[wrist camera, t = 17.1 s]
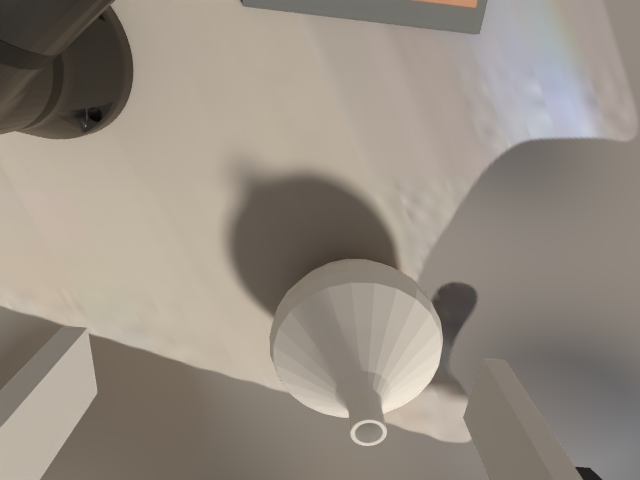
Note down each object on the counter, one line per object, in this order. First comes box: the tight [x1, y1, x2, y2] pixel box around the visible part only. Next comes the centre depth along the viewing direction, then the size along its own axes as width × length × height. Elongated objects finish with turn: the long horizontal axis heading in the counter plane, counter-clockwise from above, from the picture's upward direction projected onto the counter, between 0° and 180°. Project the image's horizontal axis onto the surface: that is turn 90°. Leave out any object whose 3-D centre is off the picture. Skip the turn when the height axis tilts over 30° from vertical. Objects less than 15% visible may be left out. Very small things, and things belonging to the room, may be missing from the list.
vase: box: [270, 259, 443, 446], centre depth 41 cm, size 18×18×19 cm
